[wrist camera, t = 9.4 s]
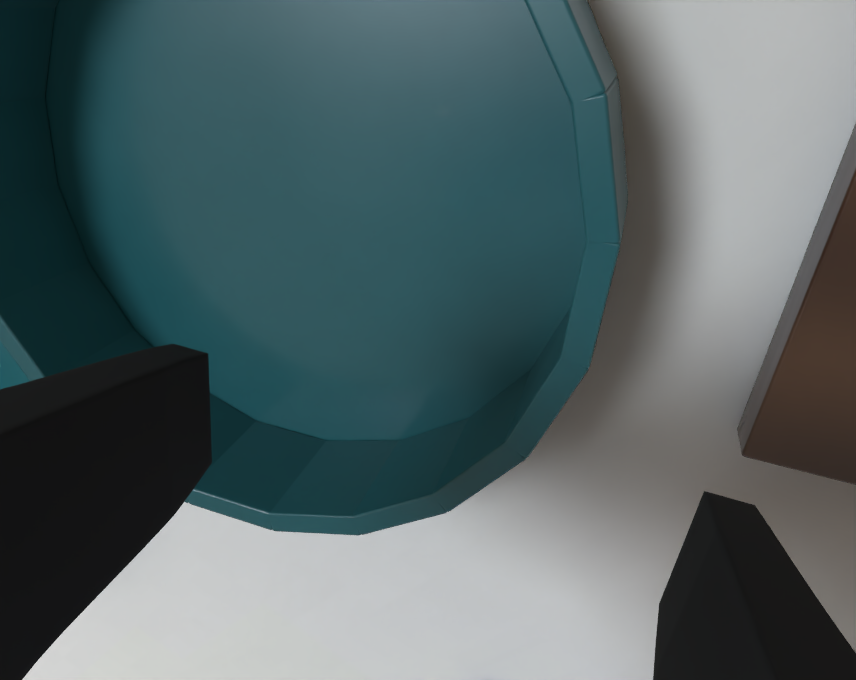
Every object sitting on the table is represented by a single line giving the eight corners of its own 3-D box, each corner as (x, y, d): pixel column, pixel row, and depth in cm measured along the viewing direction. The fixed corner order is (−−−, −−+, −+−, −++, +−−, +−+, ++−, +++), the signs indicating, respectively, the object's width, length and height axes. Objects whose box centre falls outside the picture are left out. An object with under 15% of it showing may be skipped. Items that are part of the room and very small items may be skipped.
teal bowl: (550, 511, 20) (527, 613, 16) (82, 377, 23) (-16, 438, 20) (721, -179, 12) (746, -254, 9) (-8, -221, 16) (-191, -287, 12)
